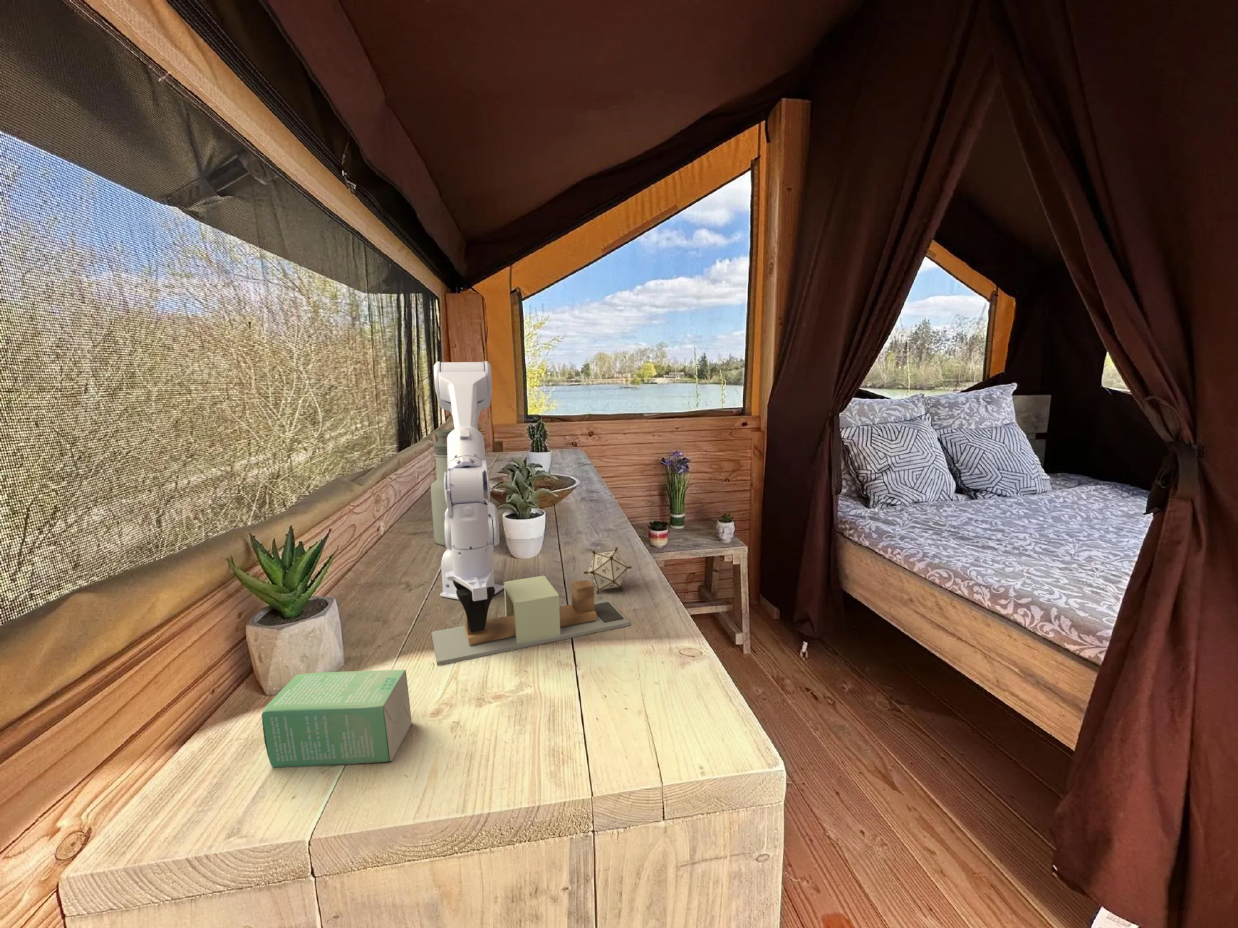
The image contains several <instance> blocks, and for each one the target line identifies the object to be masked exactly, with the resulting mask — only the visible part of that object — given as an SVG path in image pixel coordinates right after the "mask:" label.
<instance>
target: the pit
mask: <svg viewBox="0 0 1238 928" xmlns="http://www.w3.org/2000/svg"><path fill="white" fill-rule="evenodd" d="M594 610H595V612H596V613H597V615H598V616H599V617H600V618H601V620H602V621H603V622H604V623H606V622H611V621H616V620H621V619H623V617H622V616H621V615H620V614H619V613H618V612H617V611H616V609H615V608H614V607H613V606H612V605H611V604H610V603H609V602H605V603H599V604H594Z"/></svg>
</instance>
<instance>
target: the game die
mask: <svg viewBox="0 0 1238 928" xmlns="http://www.w3.org/2000/svg"><path fill="white" fill-rule="evenodd" d="M618 550H619V548H618V546H617V547H615V549H614V550H610V551H600V552H596V551H595V550H594V549H591V552H592V554H593V555H592V559H591V561H590V564H589V566H588V569H587V570H585V571H583V574H585V575H586V574H588V576H589V577H590V579H591V580H592V582H593V585H594V586H595V587H596V589H597V590H596V594H600V591H602V590H609V589H617V588H619V590H621V591H624V589H623V586H622V583H623V581H624V579H625V576H626V573H627V571H628V570H629V569H632V568H633V567H632V566H631V565H628V566H627V564H626V562H625V561H624V560H623V559H622V557H621V556H620V554H619V552H618Z"/></svg>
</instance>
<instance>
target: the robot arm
mask: <svg viewBox="0 0 1238 928" xmlns="http://www.w3.org/2000/svg"><path fill="white" fill-rule="evenodd" d="M433 377H434V378H433V379H434V383H433V384H434V389H435V390H434V391H435V394H436V397H437V403H438V404H439V406H440V407H439V408H440V409H442V410H444V411H448V412H450V414H451V417H452V422H453V427H454V429H452V430H453V431H451V432H450V433H449V435H448V437H447V474H446V472H445V474H444V491H445V500H446V503H447V509H446V511H445V543H446V546H445V547H446V550H445V551H444V553H443V555H442V557H441V562H440V568H441V581H442V582H441V583H442V592H440V594H439V596H440V597H443V598H448V599H449V598H450V599H454V600H459V602H460V603H461V605H462V608H463V610H464V609H465V613H466V617H467V621H468V625H469V628H470V631H471V633H473V632H478V631H483V630H484V629H485V625H486V620H488V612H489V608H490V604H491V603H492V600H493V598H494V597H495V595H496V594H497V593H499V592H501V591H502V590H504V584H497V583H495V581H496V580H495V566H494V547H496V546H497V547H498V544H499V543H500V526H499V525H500V524H499V515H498V508H497V507H496V504H494V503H493V502H491V501H490V499H491V486H490V485H491V483H490V472H489V469H488V465H487V460H486V452H485V438H484V435H483V433H482V432H481V431H480V430H479V424H478V423H479V422H478V421H479V418H480V415H481V411H483V410H485V409H487V408H490V405H491V402H492V393H493V386H492V385H493V384H492V383H493V382H492V368H491V364H490V363H489V362H488V360H484V361H465V362H464V361H463V362H462V361H461V362H460V361H459V362H458V361H457V362H456V361H455V362H453V361H451V362H449V361H444V362H443V361H442V362H441V361H436V362H435V363H434V365H433ZM485 493H486V494H487V498H485V496H484V494H485ZM465 613H464V614H465Z"/></svg>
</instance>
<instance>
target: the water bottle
mask: <svg viewBox="0 0 1238 928" xmlns="http://www.w3.org/2000/svg"><path fill="white" fill-rule="evenodd" d="M453 430H454V429H448V428H447V429H440V430H436V436H437V437H438V440H437V441H435V442H434V443H433V456H434V457H435V470H436V480H434V481H433V482H432V483H431V485H430V497H431V498H430V501H431V513H432V515H431V516H432V524H433V526H432V528H433V540H434V542H435V543H436V544H437V545H440V546H444V547H446V543H445V511H446V509H447V503H446V500H445V491H444V474H445V472H446V474H447V437H448V435H449V433H450V432H451V431H453Z"/></svg>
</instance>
